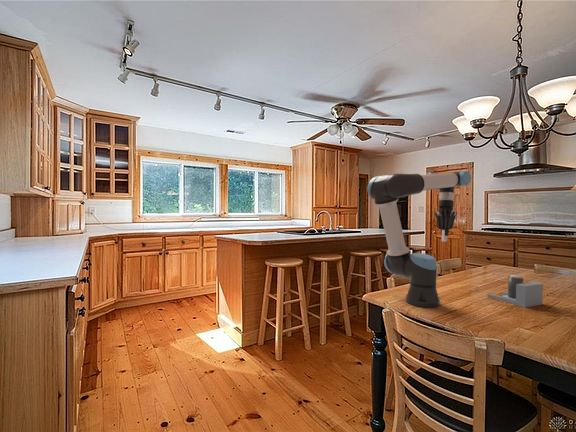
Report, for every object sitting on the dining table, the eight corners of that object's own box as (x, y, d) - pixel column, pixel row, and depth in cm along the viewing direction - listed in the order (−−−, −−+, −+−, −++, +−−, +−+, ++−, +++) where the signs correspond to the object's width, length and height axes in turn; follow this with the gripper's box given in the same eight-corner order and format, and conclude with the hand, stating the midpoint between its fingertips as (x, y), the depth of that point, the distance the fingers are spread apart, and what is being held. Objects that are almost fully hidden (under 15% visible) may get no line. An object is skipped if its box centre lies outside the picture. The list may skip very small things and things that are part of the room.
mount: (524, 307, 137) (525, 286, 137) (486, 296, 154) (487, 277, 154) (542, 304, 142) (543, 283, 141) (503, 294, 158) (504, 275, 158)
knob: (518, 303, 142) (519, 278, 142) (501, 298, 149) (502, 274, 149) (529, 301, 145) (529, 277, 144) (511, 296, 152) (512, 273, 152)
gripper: (461, 200, 165) (459, 242, 162) (440, 202, 176) (438, 241, 174) (452, 198, 162) (450, 241, 159) (431, 200, 173) (429, 240, 171)
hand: (444, 241), depth 167 cm, fingers closed
